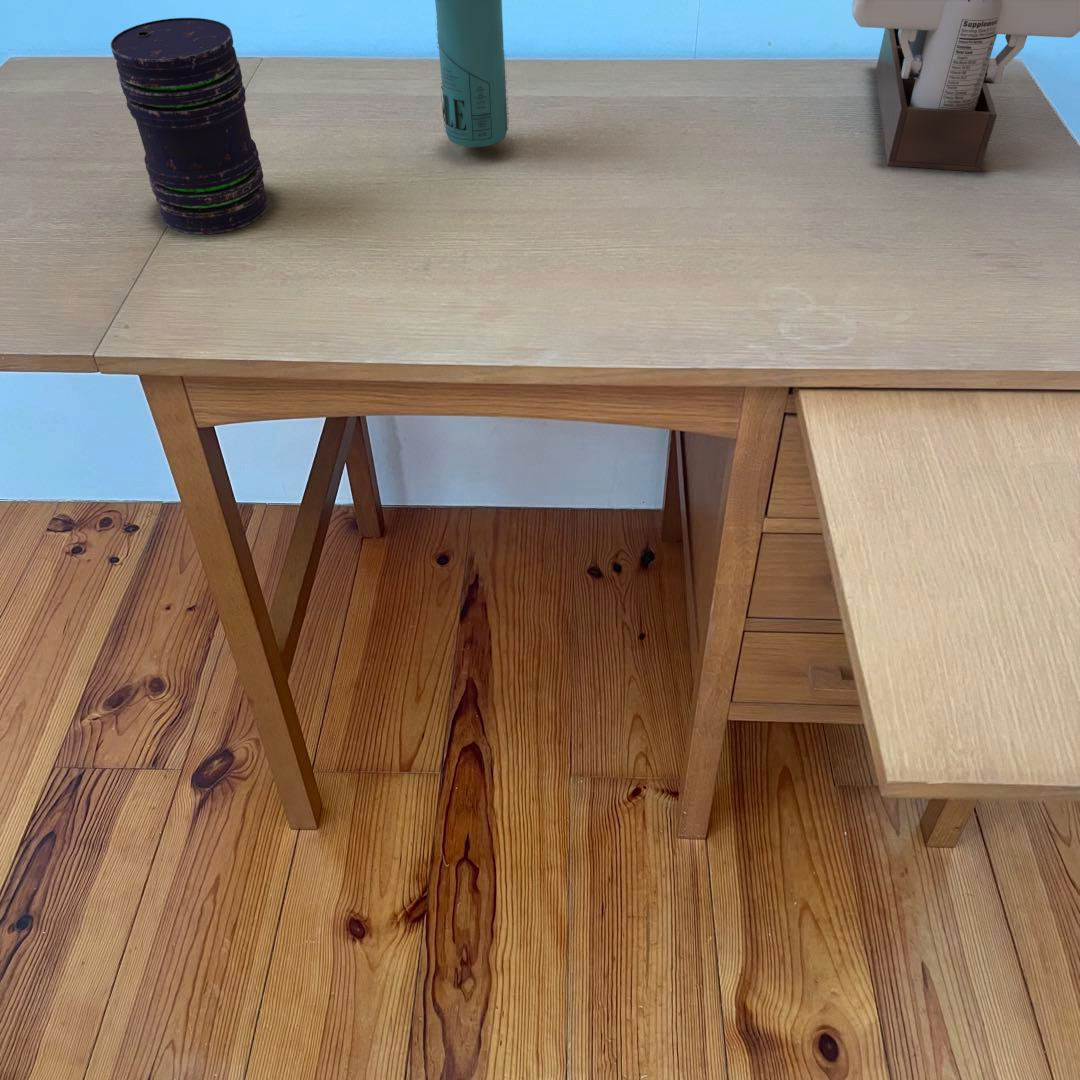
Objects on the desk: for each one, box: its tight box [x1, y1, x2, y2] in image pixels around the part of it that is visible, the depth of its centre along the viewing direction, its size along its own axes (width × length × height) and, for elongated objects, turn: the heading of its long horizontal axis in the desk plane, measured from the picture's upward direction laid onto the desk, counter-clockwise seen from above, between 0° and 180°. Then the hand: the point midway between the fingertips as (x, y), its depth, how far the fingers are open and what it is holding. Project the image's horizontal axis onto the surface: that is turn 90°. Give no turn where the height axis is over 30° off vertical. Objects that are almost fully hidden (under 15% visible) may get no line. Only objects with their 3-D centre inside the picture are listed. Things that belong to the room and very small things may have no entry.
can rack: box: [875, 28, 998, 173], centre depth 104 cm, size 9×25×6 cm, turn 169°
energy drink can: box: [909, 0, 1002, 111], centre depth 94 cm, size 6×6×15 cm
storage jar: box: [110, 17, 269, 235], centre depth 88 cm, size 10×10×15 cm
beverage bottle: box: [434, 0, 510, 148], centre depth 94 cm, size 6×7×20 cm
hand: (948, 79), depth 95 cm, fingers closed on energy drink can, 6 cm apart
